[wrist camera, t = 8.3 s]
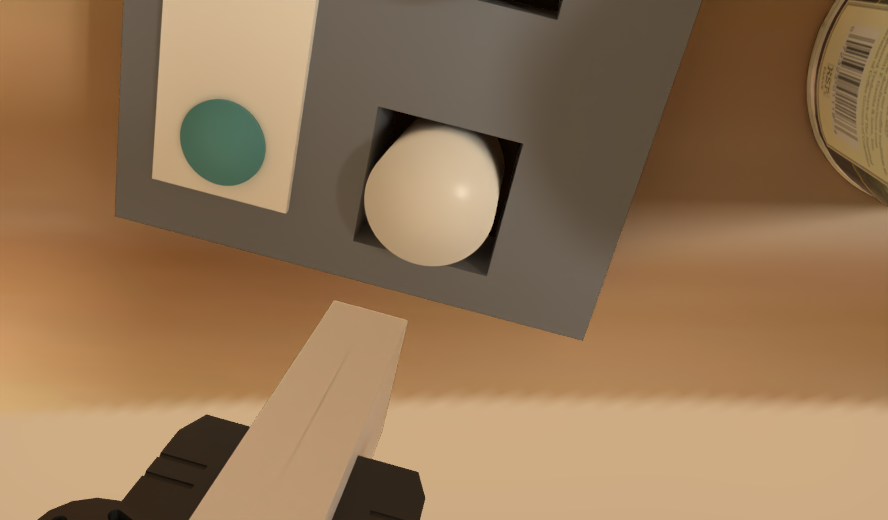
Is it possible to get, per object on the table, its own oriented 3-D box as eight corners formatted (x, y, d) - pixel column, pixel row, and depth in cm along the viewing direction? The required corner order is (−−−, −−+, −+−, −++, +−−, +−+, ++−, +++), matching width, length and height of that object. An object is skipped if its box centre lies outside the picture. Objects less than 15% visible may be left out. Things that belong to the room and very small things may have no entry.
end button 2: (517, 125, 28) (510, 159, 23) (489, 230, 29) (477, 280, 25) (405, 97, 28) (377, 124, 23) (384, 203, 30) (354, 247, 25)
